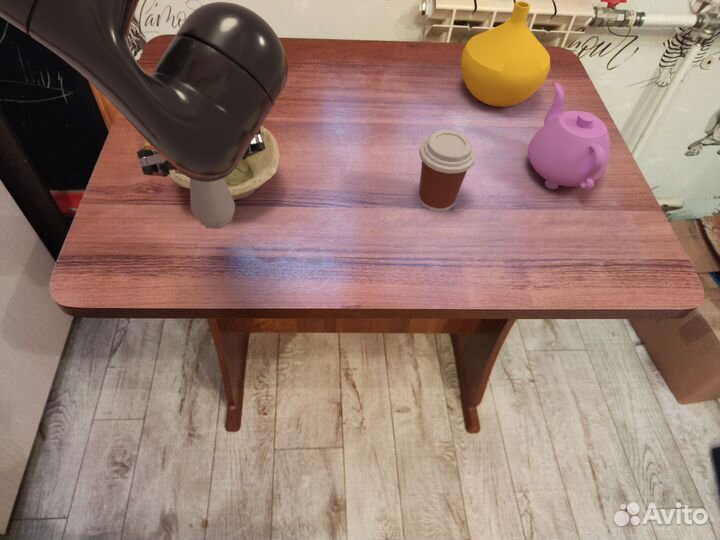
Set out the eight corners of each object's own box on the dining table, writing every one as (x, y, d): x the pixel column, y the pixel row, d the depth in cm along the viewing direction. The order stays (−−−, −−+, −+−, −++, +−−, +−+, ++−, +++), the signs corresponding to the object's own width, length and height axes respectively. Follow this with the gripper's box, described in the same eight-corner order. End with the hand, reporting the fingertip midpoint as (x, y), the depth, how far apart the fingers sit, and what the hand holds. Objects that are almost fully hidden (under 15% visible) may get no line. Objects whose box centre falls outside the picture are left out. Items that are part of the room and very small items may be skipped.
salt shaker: (232, 235, 66) (217, 159, 56) (190, 232, 66) (167, 156, 56) (240, 205, 70) (227, 129, 60) (200, 203, 70) (180, 126, 60)
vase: (443, 74, 112) (462, -15, 97) (517, 70, 115) (546, -17, 100) (469, 121, 101) (495, 29, 86) (550, 115, 104) (588, 25, 89)
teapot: (503, 139, 98) (523, 82, 88) (567, 134, 100) (593, 78, 91) (545, 209, 86) (574, 152, 76) (616, 201, 88) (653, 145, 79)
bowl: (277, 198, 90) (282, 204, 76) (175, 198, 86) (160, 205, 72) (275, 120, 87) (280, 111, 73) (169, 117, 83) (152, 107, 69)
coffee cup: (468, 191, 88) (486, 136, 78) (452, 223, 82) (468, 168, 73) (422, 175, 90) (433, 119, 80) (402, 205, 85) (412, 149, 75)
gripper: (267, 85, 48) (247, 122, 64) (114, 112, 44) (134, 144, 60) (287, 161, 49) (263, 178, 65) (140, 194, 45) (153, 203, 61)
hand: (201, 161), depth 62 cm, fingers closed on salt shaker, 4 cm apart
